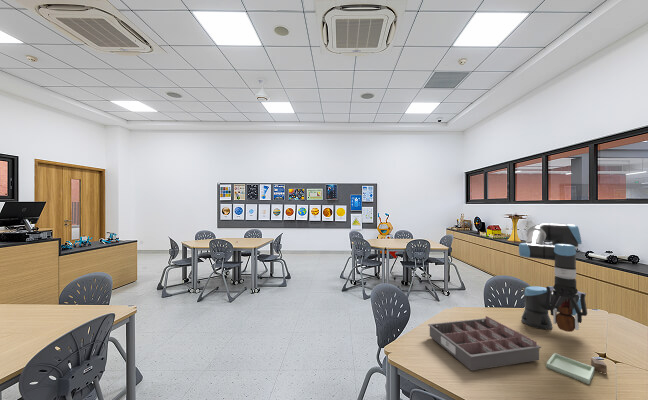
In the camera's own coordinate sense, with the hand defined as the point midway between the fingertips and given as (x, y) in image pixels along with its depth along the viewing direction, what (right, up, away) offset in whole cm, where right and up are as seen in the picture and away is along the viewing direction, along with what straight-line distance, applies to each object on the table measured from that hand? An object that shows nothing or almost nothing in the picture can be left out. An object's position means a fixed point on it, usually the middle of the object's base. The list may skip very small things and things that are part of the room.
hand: (565, 325), depth 120 cm
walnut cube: (+12, -19, -3) cm, 23 cm away
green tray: (-1, -19, -3) cm, 19 cm away
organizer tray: (-32, -20, +13) cm, 40 cm away
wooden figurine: (0, -2, 0) cm, 2 cm away
